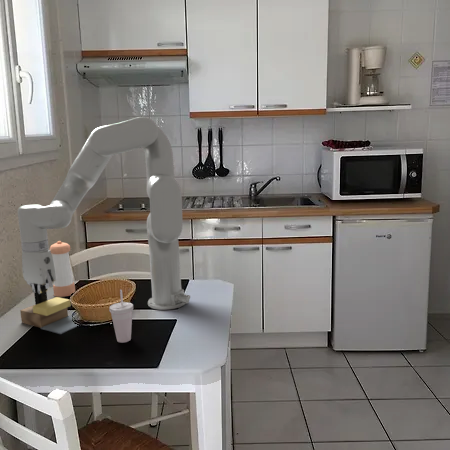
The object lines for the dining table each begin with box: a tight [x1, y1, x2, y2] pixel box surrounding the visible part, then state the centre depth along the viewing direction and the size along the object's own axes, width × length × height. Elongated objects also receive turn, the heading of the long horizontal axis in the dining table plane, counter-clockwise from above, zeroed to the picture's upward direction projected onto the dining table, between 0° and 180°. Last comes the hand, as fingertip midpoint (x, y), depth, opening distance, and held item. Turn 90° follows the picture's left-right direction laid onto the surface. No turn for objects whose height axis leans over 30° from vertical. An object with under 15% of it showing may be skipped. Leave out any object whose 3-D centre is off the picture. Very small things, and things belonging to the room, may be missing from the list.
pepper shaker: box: [49, 240, 76, 298], centre depth 174 cm, size 7×7×19 cm
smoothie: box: [108, 289, 134, 344], centre depth 134 cm, size 6×6×14 cm
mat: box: [40, 314, 80, 335], centre depth 147 cm, size 9×11×1 cm
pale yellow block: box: [32, 296, 72, 316], centre depth 149 cm, size 9×6×2 cm, turn 149°
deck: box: [19, 304, 69, 329], centre depth 151 cm, size 9×10×4 cm
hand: (41, 304), depth 151 cm, fingers closed
